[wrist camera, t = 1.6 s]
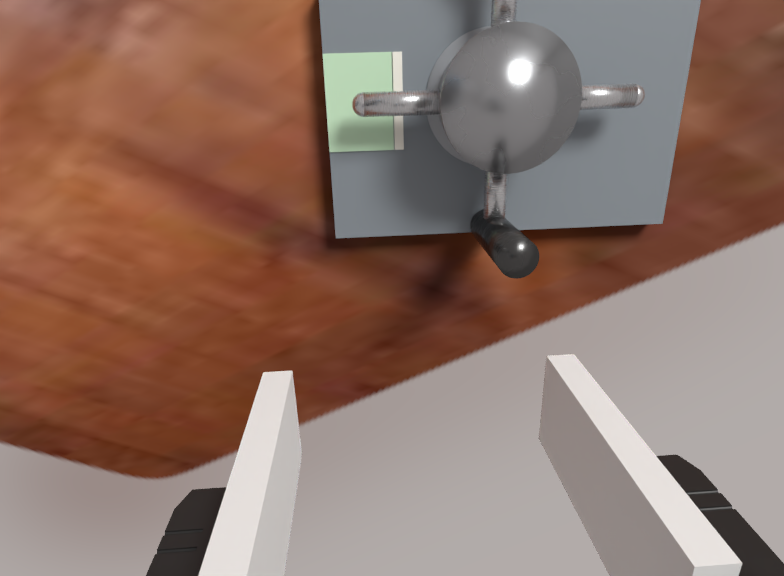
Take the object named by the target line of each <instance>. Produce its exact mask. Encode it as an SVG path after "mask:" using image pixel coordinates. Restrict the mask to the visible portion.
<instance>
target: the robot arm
mask: <svg viewBox="0 0 784 576" xmlns="http://www.w3.org/2000/svg"><path fill="white" fill-rule="evenodd" d="M539 440H540V442H541V444H542V446H543V447H544V449H545V451H546V453H547V455H548V457H549V459H550V461H551V463H552V465H553V467H554V469H555V471H556V472H557V474H558V476H559V478H560V480H561V482H562V484H563V486H564V488H565V490H566V492H567V494H568V496H569V498H570V500H571V502H572V504H573V506H574V508H575V509H576V511H577V513H578V515H579V517H580V519H581V521H582V523H583V525H584V527H585V529H586V531H587V533H588V534H589V537H590V539H591V540H592V542H593V544H594V546H595V548H596V550H597V552H598V554H599V556H600V558H601V560H602V562H603V564H604V565H605V567H606V570H607V571H608V573H609V575H610V576H784V564H783V562H782V561H781V560H780V559H779V558H778V557H777V556H776V554H775V553H774V552H773V551H772V550H771V549H770V548H769V547H768V545H767V544H766V543H765V542H764V541H763V540H762V539H761V538H760V536H759V535H758V534H757V533H756V532H755V531H754V530H753V529H752V527H751V526H750V525H749V524H748V523H747V522H746V521H745V520H744V518H742V516H741V515H740V514H739V513H738V512H737V511H736V510H735V509H732V505H731V504H730V503H729V502H728V501H727V500H726V498H725V497H724V496H723V495H722V494H721V493H718V490H717V488H716V487H715V486H714V485H713V484H712V483H711V481H709V479H708V478H707V477H706V476H705V475H704V474H703V473H702V471H701V470H699V469H698V468H696V467H694V466H693V465H692V464H690V463H689V462H687V461H686V460H684V459H683V458H681V457H680V456H678V455H666V456H656V455H655V454H654V453H653V452H652V450H651V449H650V448H649V447H648V445H647V444H646V443H645V442H644V440H643V439H642V438H641V437H640V435H639V434H638V433H637V432H636V431H635V429H634V428H633V427H632V426H631V424H630V423H629V422H628V421H627V419H626V418H625V417H624V416H623V414H622V413H621V412H620V411H619V410H618V408H617V407H616V406H615V405H614V403H613V402H612V401H611V400H610V399H609V397H608V396H607V395H606V393H605V392H604V391H603V390H602V388H601V387H600V386H599V385H598V383H597V382H596V381H595V380H594V379H593V377H592V376H591V375H590V374H589V372H588V371H587V370H586V369H585V367H584V366H583V365H582V364H581V362H580V361H579V360H578V359H577V357H576V356H575V355H574V354H570V355H555V356H554V355H553V356H547V357H546V368H545V378H544V388H543V399H542V410H541V420H540V431H539ZM301 457H302V450H301V441H300V433H299V424H298V415H297V407H296V398H295V389H294V381H293V372H292V371H279V372H263V375H262V378H261V381H260V385H259V388H258V391H257V394H256V397H255V400H254V403H253V406H252V409H251V413H250V416H249V419H248V422H247V425H246V428H245V431H244V434H243V438H242V441H241V444H240V447H239V450H238V453H237V456H236V459H235V463H234V466H233V469H232V472H231V475H230V478H229V482H228V485H227V487H226V488H210V489H196V490H192V491H191V492H190V493H189V494H188V495H187V496H186V497H185V498H184V500H182V502H181V503H180V504H179V505H178V506H177V507H176V508H175V509H174V511H173V514H172V516H171V519H170V521H169V523H168V525H167V528H166V530H165V536H163V537H162V540H161V542H160V544H159V547H158V549H157V554H156V555H155V556H154V558H153V561H152V563H151V565H150V568H149V570H148V572H147V575H146V576H284V574H285V567H286V561H287V554H288V546H289V539H290V533H291V526H292V519H293V512H294V505H295V498H296V492H297V485H298V478H299V471H300V464H301Z"/></svg>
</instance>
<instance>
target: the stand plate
mask: <svg viewBox="0 0 784 576" xmlns="http://www.w3.org/2000/svg"><path fill="white" fill-rule="evenodd" d="M700 2H701V0H517V13H516V21H518V22H529V23H534V24H537V25H540V26H542V27H545V28H547V29H548V30H550V31H552V32H553V33H555V34H556V35H557V36H558V37H560V38H561V39H562V40H563V41H564V42H565V44H566V45H567V46H568V47H569V49H570V50H571V52H572V53H573V55H574V57H575V59H576V62H577V64H578V67H579V70H580V75H581V80H582V85H606V84H639V85H640V86H642V87H643V88H644V91H645V98H644V100H643V102H642V103H641V104H640V105H639V106H637V107H635V108H621V109H591V110H580V112H579V115H578V119H577V121H576V124H575V126H574V128H573V130H572V132H571V134H570V136H569V137H568V139H567V140H566V141H565V143H564V144H563V145H562V147H561V148H560V149H559V150H558V151H557V152H556V153H555V154H554V155H553V156H551V157H550V158H549V159H548V160H546V161H545V162H543V163H542V164H540V165H538V166H536V167H534V168H532V169H529V170H526V171H523V172H519V173H512V174H508V177H507V195H506V214H505V218H506V219H507V220H508V221H509V222H510V223H511V224H513V225H514V226H515V227H516V228H517V229H518V230H533V229H555V228H577V227H599V226H621V225H643V224H663V218H664V212H665V206H666V200H667V195H668V189H669V183H670V177H671V171H672V165H673V160H674V154H675V148H676V142H677V136H678V130H679V125H680V119H681V113H682V107H683V101H684V95H685V90H686V84H687V78H688V72H689V66H690V60H691V54H692V49H693V43H694V37H695V31H696V25H697V19H698V14H699V8H700ZM491 8H492V0H319V10H320V24H321V38H322V53H323V68H324V82H325V96H326V110H327V124H328V138H329V152H330V165H331V179H332V193H333V207H334V221H335V235H336V238H356V237H378V236H400V235H422V234H444V233H466V232H471V229H470V223H471V220H472V218H473V216H474V215H475V214H476V213H477V212H478V211H480V210H482V209H484V189H485V170H482V169H480V168H478V167H475V166H474V165H472V164H471V163H469V162H468V161H466V160H465V159H464V158H463V157H462V156H460V155H459V154H458V152H457V151H456V150H455V149H454V148H453V146H452V145H451V143H450V142H449V140H448V138H447V136H446V134H445V132H444V129H443V127H442V125H441V122H440V119H439V116H438V115H412V116H382V117H361V116H358V115H357V114H356V113H355V112H354V111H353V108H352V100H353V98H354V97H355V95H357V94H358V93H360V92H380V91H412V90H438V87H439V83H440V80H441V77H442V75H443V73H444V71H445V69H446V67H447V66H448V64H449V63H450V62H451V60H452V59H453V58H454V56H455V55H456V54H457V52H458V51H459V50H460V49H461V47H462V46H463V45H464V44H466V43H467V42H468V41H469V40H470V39H471V38H473V37H474V36H475V35H476V34H478V33H480V32H482V31H483V30H485V29H488V28H490V27H491Z"/></svg>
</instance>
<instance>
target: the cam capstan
mask: <svg viewBox="0 0 784 576" xmlns="http://www.w3.org/2000/svg"><path fill="white" fill-rule="evenodd" d="M516 13H517V0H492V8H491V27H490V28H488V29H485V30H483V31H482V32H480V33H478V34H476V35H475V36H474V37H473V38H471V39H470V40H469V41H468V42H467V43H466V44H464V45H463V46H462V47H461V49H460V50H459V51H458V52H457V54H456V55H455V56H454V58H453V59H452V60H451V62H450V63H449V64H448V66H447V67H446V69H445V71H444V73H443V75H442V77H441V80H440V83H439V87H438V90H412V91H380V92H360V93H358V94H357V95H355V97H354V98H353V100H352V108H353V111H354V112H355V113H356V114H357V115H358V116H361V117H382V116H412V115H438V116H439V119H440V122H441V125H442V127H443V129H444V132H445V134H446V136H447V138H448V140H449V142H450V143H451V145H452V146H453V148H454V149H455V150H456V151H457V152H458V154H459V155H460V156H462V157H463V158H464V159H465V160H466V161H468V162H469V163H471V164H472V165H474V166H475V167H478V168H480V169H482V170H485V189H484V209H482V210H480V211H478V212H477V213H476V214H475V215H474V216H473V218H472V220H471V223H470V229H471V232H472V234H473V235H474V237H475V238H476V239H477V241H478V242H479V243H480V244H481V246H482V247H483V248H484V250H485V251H486V252H487V253H488V255H489V256H490V257H491V259H492V260H493V261H494V262H495V264H496V265H497V266H498V268H499V269H500V270H501V272H502V273H503V274H505V275H506V276H508V277H510V278H522V277H525V276H527V275H529V274H530V273H531V272H532V271H533V270H534V269H535V268H536V266H537V264H538V261H539V252H538V249H537V247H536V245H535V244H534V243H533V242H531V241H530V240H529V239H528V238H527V237H526V236H525V235H524V234H523V233H521V232H520V231H519V230H518V229H517V228H516V227H515V226H514V225H513V224H511V223H510V222H509V221H508V220H507V219H506V218H505V214H506V195H507V177H508V174H512V173H519V172H523V171H526V170H529V169H532V168H534V167H536V166H538V165H540V164H542V163H543V162H545V161H546V160H548V159H549V158H550V157H551V156H553V155H554V154H555V153H556V152H557V151H558V150H559V149H560V148H561V147H562V145H563V144H564V143H565V141H566V140H567V139H568V137H569V136H570V134H571V132H572V130H573V128H574V126H575V124H576V121H577V119H578V115H579V112H580V110H591V109H621V108H635V107H637V106H639V105H640V104H641V103H642V102H643V100H644V98H645V91H644V88H643V87H642V86H640V85H639V84H606V85H582V80H581V75H580V70H579V67H578V64H577V62H576V59H575V57H574V55H573V53H572V52H571V50H570V49H569V47H568V46H567V45H566V44H565V42H564V41H563V40H562V39H561V38H560V37H558V36H557V35H556V34H555V33H553V32H552V31H550V30H548V29H547V28H545V27H542V26H540V25H537V24H534V23H529V22H518V21H516Z"/></svg>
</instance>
